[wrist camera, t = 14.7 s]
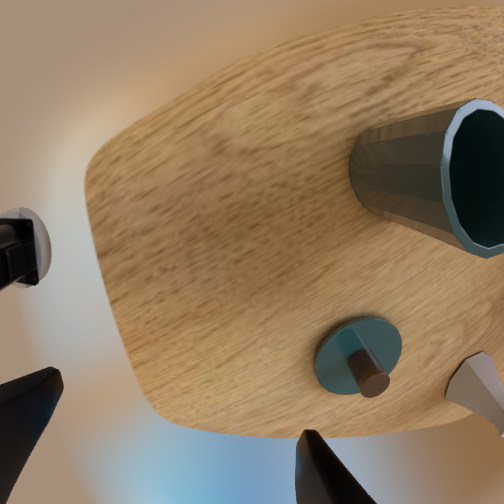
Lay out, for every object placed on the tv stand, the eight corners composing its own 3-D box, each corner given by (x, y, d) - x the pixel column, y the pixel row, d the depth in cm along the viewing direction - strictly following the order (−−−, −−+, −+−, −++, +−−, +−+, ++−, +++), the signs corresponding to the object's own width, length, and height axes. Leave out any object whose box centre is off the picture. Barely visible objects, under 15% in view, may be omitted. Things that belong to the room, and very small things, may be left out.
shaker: (355, 225, 20) (443, 272, 10) (341, 126, 18) (426, 92, 8) (432, 211, 20) (531, 243, 10) (421, 123, 18) (523, 107, 8)
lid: (299, 382, 24) (309, 420, 19) (332, 304, 22) (352, 335, 17) (373, 389, 24) (390, 421, 20) (410, 320, 22) (436, 346, 18)
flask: (462, 351, 24) (515, 405, 14) (496, 348, 24) (544, 392, 15) (435, 403, 26) (474, 459, 16) (471, 395, 26) (509, 442, 17)
